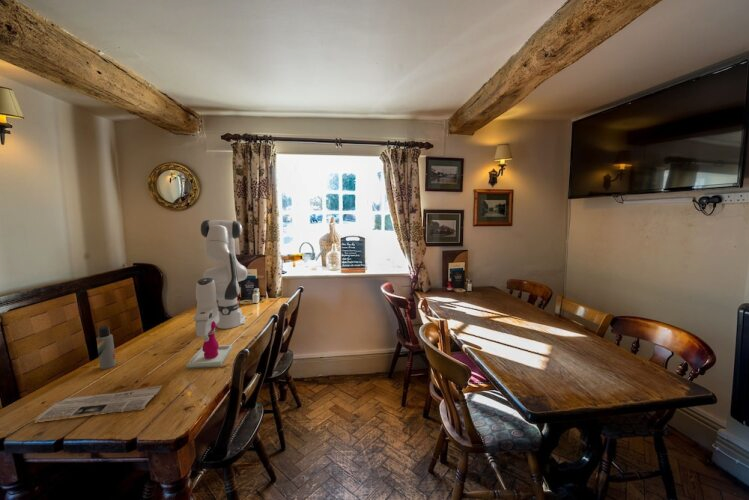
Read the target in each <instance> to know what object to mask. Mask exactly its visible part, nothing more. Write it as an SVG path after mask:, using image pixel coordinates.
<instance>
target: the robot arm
mask: <svg viewBox="0 0 749 500" xmlns="http://www.w3.org/2000/svg"><path fill="white" fill-rule="evenodd" d="M199 230H200V232H201V233H200V234H201V236H202V237H204V238H206V239H205V247H204V249H205V254H206V255H207V257H209V258H210V259H212V260H214V261H215V262H220V263H222V264H225V265H226V266H218V267H211V268H208V269H206V270H205V271H204V272H203V275H202V278H201V279H199V280H197V281H196V285H195V299H196V301H197V304H196V310H195V311H196V312H195V314H194V316H193V321H194V326H195V328H194V329H195V334H196V336H197V337H198V338H200V337H202V338H203V340H204V341H205V342H206V341H208V340H209V337H208V333H209V332H210V331H211V324H212V322H213V321H214V322H215V323H216V327H215V328H214V329H215V330H216V328H217V329H224V330H225V329H227V330H228V329H232V328H233V329H234V328H236V327H239V326H242V325H245V323H246V319H245V318H247V317H246V315H243V310H242V309H241V308H240V306H239V304H240V303H239V302H240V301H239V300H238V297H239V296H240V292H241V290H240V289H241V288H240V285H239V282H242V281H245V280H246V279H247V278H248V276H249V275H248V269H247V267H246V266H245V265H243V264H242V263H240V261H238V259H237V256H236V243H235V240H237V239H238V238H240V237H241V236H242V233H243V226H242V223H241V222H240V221H238V220H237V221H236V220H227V219H212V220H211V219H207V220H203V221H202V222H201V225H200V228H199ZM217 301H218V302H217ZM215 334H216V332H215V333H214V335H215ZM204 341H203V342H204Z"/></svg>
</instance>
